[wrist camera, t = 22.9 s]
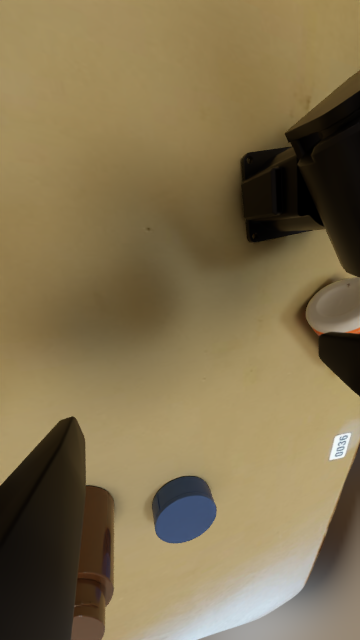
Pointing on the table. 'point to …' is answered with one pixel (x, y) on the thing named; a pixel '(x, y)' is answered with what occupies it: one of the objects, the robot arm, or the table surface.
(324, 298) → the pill bottle
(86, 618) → the jar
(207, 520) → the lid
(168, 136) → the table surface
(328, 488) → the table surface
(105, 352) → the table surface
